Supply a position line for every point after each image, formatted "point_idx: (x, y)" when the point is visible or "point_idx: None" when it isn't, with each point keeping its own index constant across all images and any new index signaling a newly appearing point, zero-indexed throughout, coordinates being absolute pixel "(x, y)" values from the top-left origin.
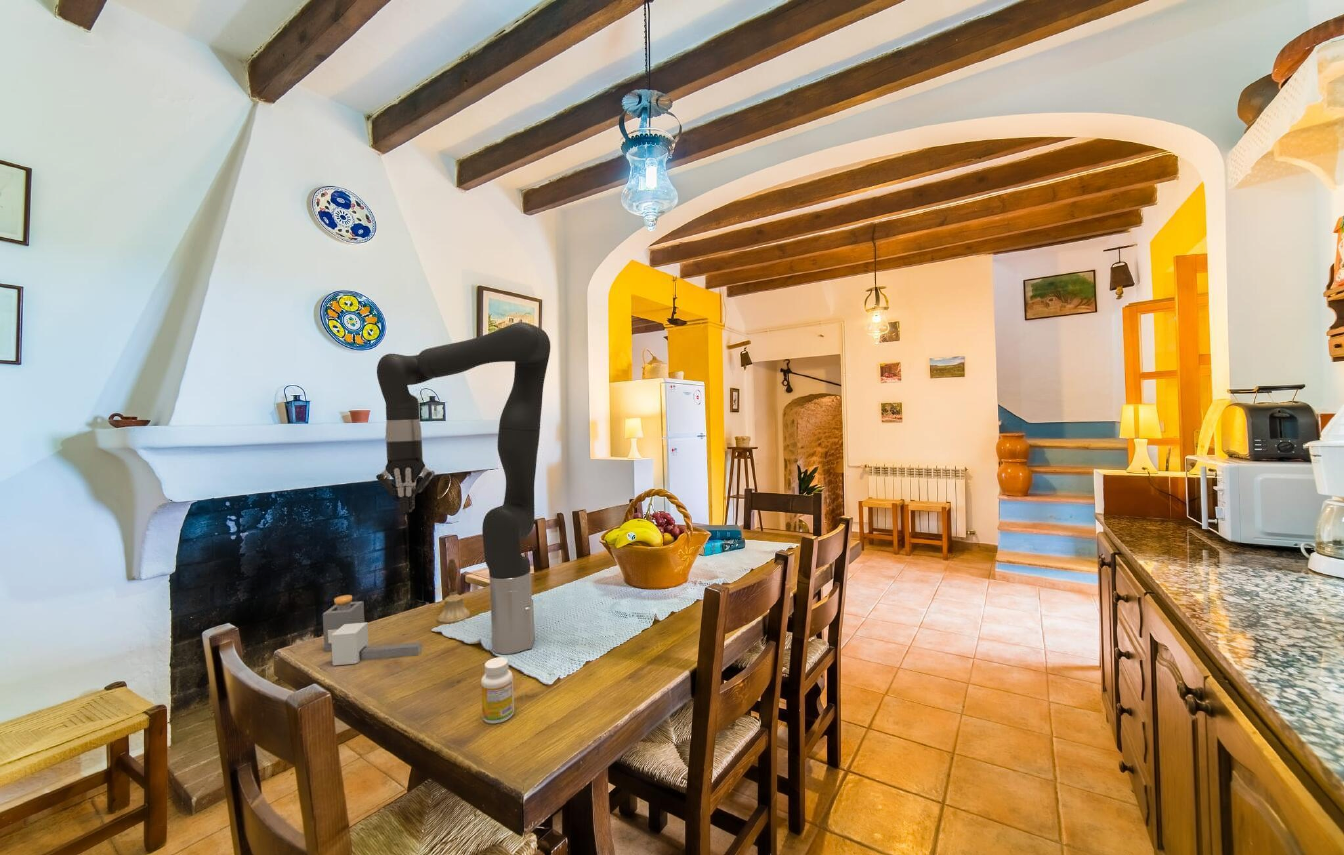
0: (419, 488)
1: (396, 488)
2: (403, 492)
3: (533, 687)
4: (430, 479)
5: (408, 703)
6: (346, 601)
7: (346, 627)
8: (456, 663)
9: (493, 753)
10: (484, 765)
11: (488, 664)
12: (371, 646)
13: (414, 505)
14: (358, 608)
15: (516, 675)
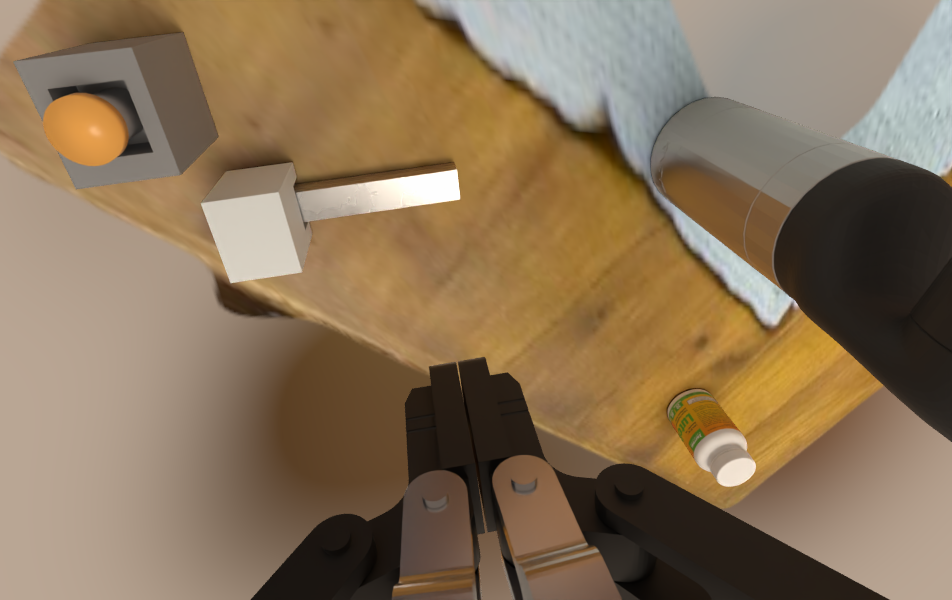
0: (666, 585)
1: (354, 596)
2: (479, 585)
3: (743, 335)
4: (849, 591)
5: (529, 380)
6: (122, 149)
7: (233, 229)
8: (575, 240)
9: (689, 470)
10: (680, 486)
11: (723, 478)
12: (314, 190)
13: (522, 396)
14: (158, 100)
15: (713, 295)
